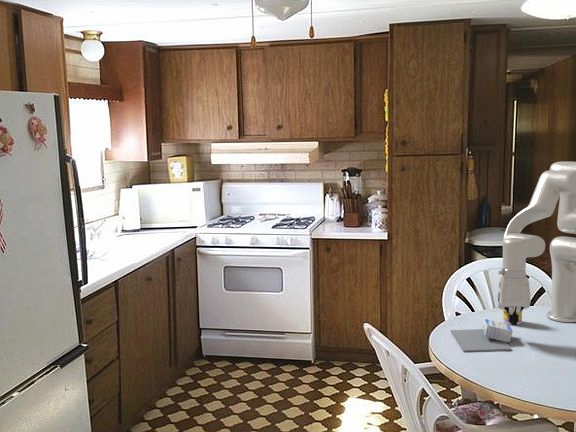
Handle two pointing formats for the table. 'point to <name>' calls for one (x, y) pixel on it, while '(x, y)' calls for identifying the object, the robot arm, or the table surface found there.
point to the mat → (478, 341)
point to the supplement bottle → (505, 317)
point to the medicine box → (497, 330)
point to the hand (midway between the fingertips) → (513, 324)
